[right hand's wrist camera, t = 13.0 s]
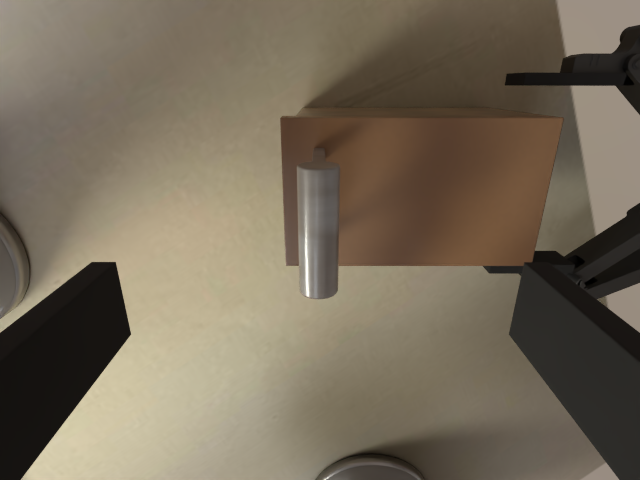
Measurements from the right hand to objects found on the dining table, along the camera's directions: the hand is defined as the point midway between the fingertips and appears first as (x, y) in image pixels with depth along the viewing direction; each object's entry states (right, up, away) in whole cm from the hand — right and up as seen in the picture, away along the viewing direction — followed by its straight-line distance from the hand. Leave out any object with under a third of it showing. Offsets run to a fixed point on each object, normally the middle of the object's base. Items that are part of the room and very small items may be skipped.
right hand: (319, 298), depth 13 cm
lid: (+6, +5, +13) cm, 15 cm away
